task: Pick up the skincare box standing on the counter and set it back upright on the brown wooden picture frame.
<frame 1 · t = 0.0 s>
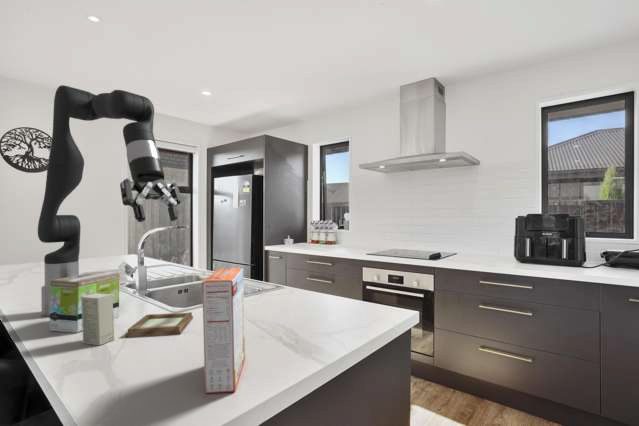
hand: (158, 220, 83), 31 cm above the worktop, tool tilted 20°, fingers open, 8 cm apart
skincare box: (98, 342, 87), on the worktop
brown wooden picture frame: (162, 327, 97), on the worktop
tea box: (87, 324, 101), on the worktop
cracker box: (226, 376, 68), on the worktop
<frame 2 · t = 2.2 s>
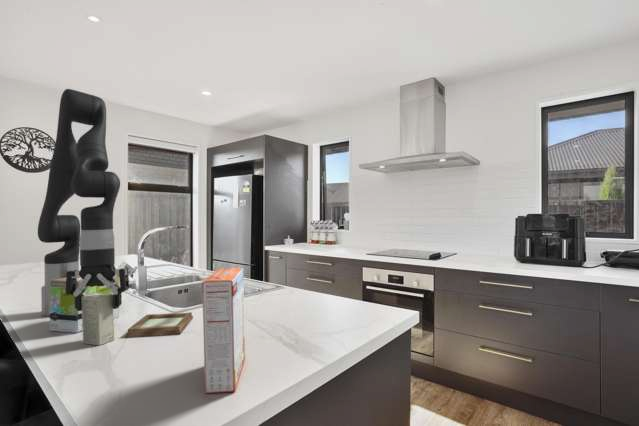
hand: (98, 309, 87), 8 cm above the worktop, tool pointing down, fingers open, 8 cm apart
skincare box: (98, 342, 87), on the worktop, touching gripper
everything else where it was.
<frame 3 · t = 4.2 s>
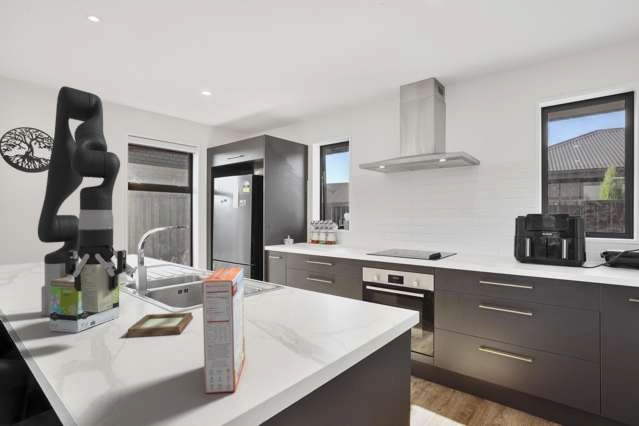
hand: (96, 290, 87), 13 cm above the worktop, tool pointing down, fingers closed on skincare box, 7 cm apart
skincare box: (96, 310, 87), point 8 cm above the worktop, touching gripper
everything else where it was.
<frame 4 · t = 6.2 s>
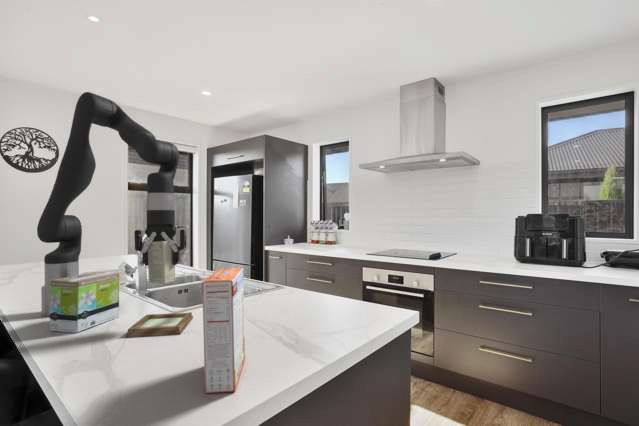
hand: (161, 264, 97), 18 cm above the worktop, tool pointing down, fingers closed on skincare box, 7 cm apart
skincare box: (161, 282, 97), point 13 cm above the worktop, touching gripper
everything else where it was.
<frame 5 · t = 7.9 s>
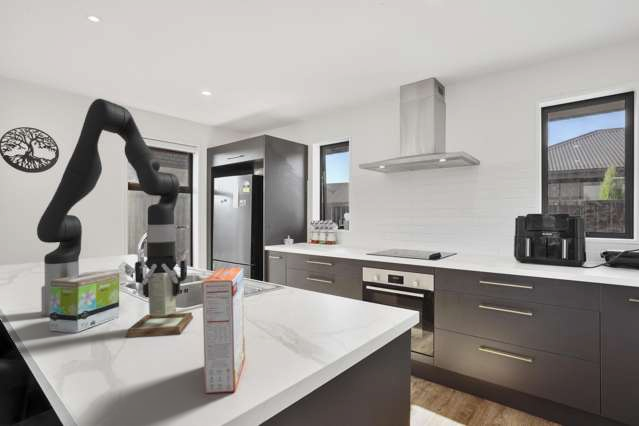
hand: (161, 296, 97), 9 cm above the worktop, tool pointing down, fingers closed on skincare box, 7 cm apart
skincare box: (162, 314, 97), point 4 cm above the worktop, touching gripper
everything else where it was.
when the fingers open (7 cm above the worktop, at t = 9.3 s): skincare box stays where it is, resting on brown wooden picture frame.
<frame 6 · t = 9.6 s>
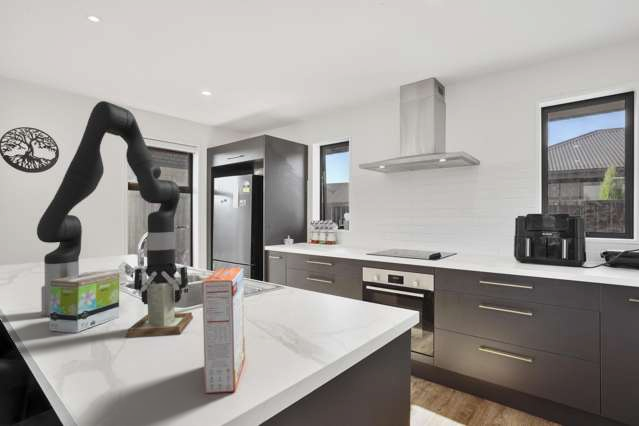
hand: (161, 302, 97), 7 cm above the worktop, tool pointing down, fingers open, 8 cm apart
skincare box: (161, 324, 97), point 1 cm above the worktop, touching gripper, brown wooden picture frame
everything else where it was.
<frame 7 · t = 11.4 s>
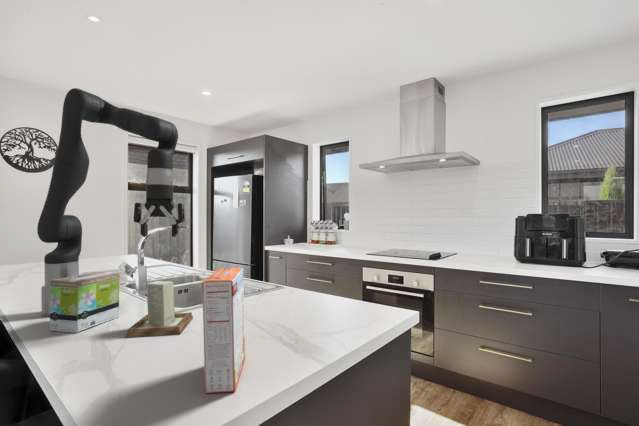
hand: (159, 236, 102), 26 cm above the worktop, tool pointing down, fingers open, 8 cm apart
skincare box: (161, 324, 97), point 1 cm above the worktop, touching brown wooden picture frame
everything else where it was.
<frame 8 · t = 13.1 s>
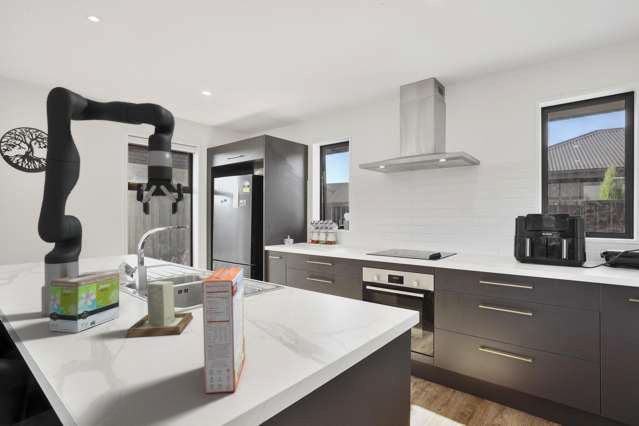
hand: (160, 214, 111), 33 cm above the worktop, tool pointing down, fingers open, 8 cm apart
nothing on the worktop moved.
at the end: skincare box inside the target area on the brown wooden picture frame (0.3 cm from its centre), point 0.8 cm above the brown wooden picture frame's base; skincare box tilted 0°; the gripper is holding nothing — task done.
